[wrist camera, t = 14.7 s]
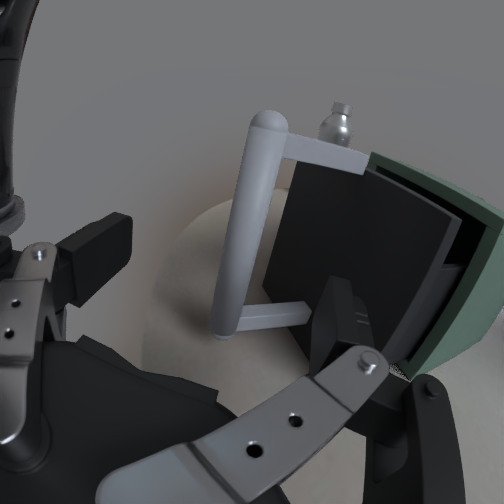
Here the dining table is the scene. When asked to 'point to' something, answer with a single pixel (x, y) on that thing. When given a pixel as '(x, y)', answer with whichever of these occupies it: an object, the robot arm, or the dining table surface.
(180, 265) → the dining table surface
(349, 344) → the robot arm
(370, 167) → the green drawer cabinet
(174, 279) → the dining table surface
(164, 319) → the dining table surface
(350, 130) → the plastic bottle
